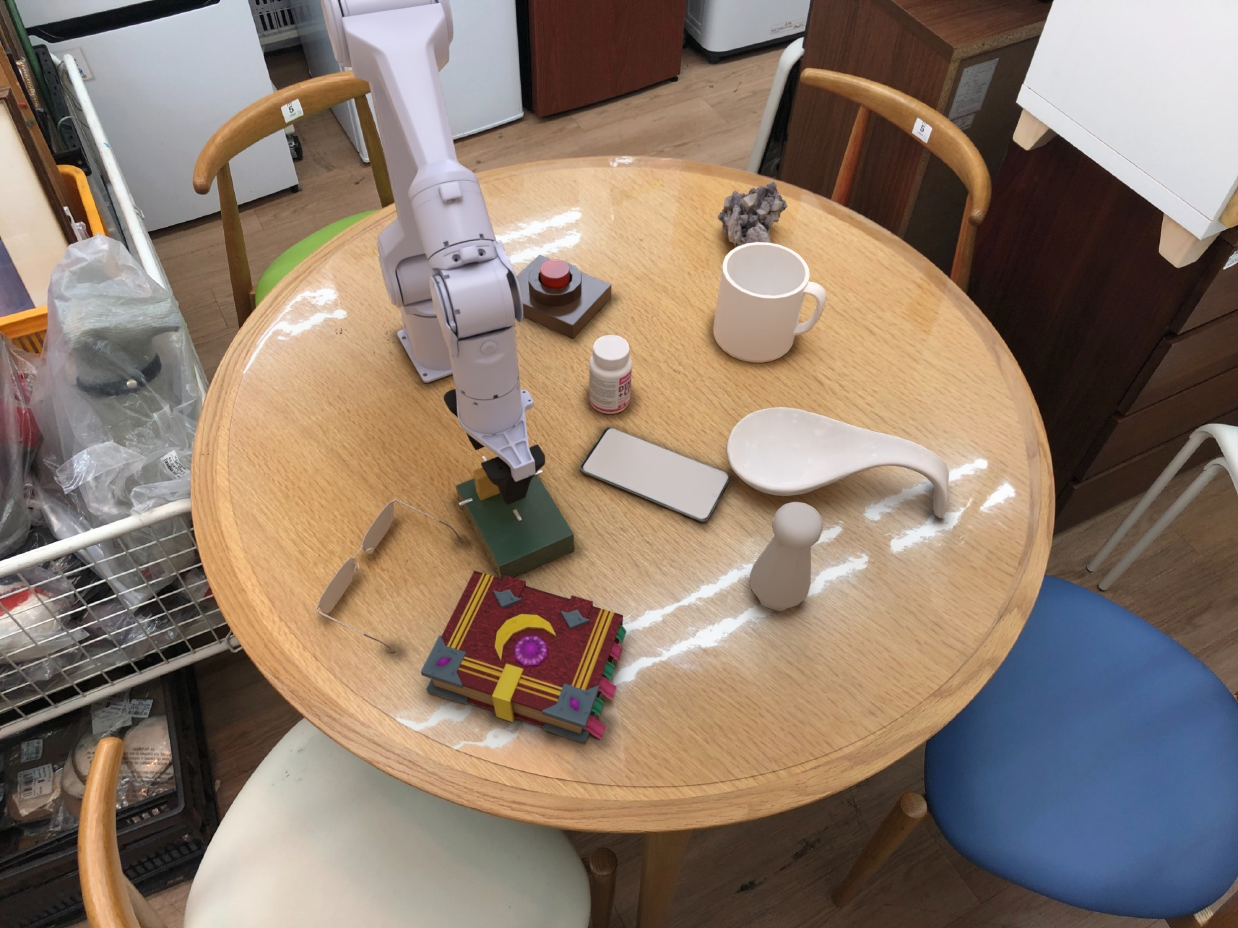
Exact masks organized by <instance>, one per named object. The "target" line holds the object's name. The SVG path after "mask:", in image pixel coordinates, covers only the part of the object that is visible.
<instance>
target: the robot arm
mask: <svg viewBox="0 0 1238 928" xmlns="http://www.w3.org/2000/svg"><path fill="white" fill-rule="evenodd" d="M320 5H321V10H322V15H323V19H324V22H325V26H326V30H327V34H328V38H329V41H330V44H331V48H332V52H333V56H334V59H335V61H336V62H337V63H338V64H339V66H340V67H343V68H351V70H352V75H353V77H354V78H356V79H359V80H362V81H364V82H367V83H368V86H369V91H370V96H371V100H372V106H373V109H374V114H375V119H376V123H377V128H378V133H379V137H380V141H381V147H382V151H383V155H384V160H385V165H386V169H387V173H388V179H389V184H390V187H391V193H392V198H393V201H394V202H393V203H394V206H395V210H396V211H395V212H396V215H397V217H396V218H395V219H394V220H393V221H392V222H391V223H390V224H388V225H387V226H386V227H385V228H384V229H383V230H382V231H381V232H380V233H379V234H378V235H377V242H376V246H377V251H378V262H379V267H380V271H381V275H382V278H383V282H384V285H385V289H386V292H387V296H388V298H389V301H390V304H392V305H393V306H395V307H396V308H397V309H399V311H400V316H401V321H402V325H403V329H400V330H398V331H397V332H396V336H397V337H398V340H399V341H400V343H401V345H402V347H403V348H404V350H405V352H406V353H407V355H408V357H409V359H410V361H411V362H412V364H413V366H414V369H416V371H417V373H418V375H419V377H420V378H421V380H422V382H423V383H426V384H427V383H431V382H434V381H437V380H440V379H443V378H445V377H448V376H451V375H452V378H453V383H454V388H452V389H450V390H448V391H447V392H445V394H444V395H443V401H444V403H445V405H446V407H447V408H448V410H449V412H450V413H451V414H453V416H455V417H456V418H457V419H458V423H459V426H460V428H461V429H462V430H463V432H465V434H466V436H467V438H468V440H469V442H470V444H471V446H472V448H473V449H474V450H475V451H478V450H481V449H483V448H486V449H487V450H488V451H490V452H491V453H493V454H494V455H495V457H492V458H490V459H487V461H485V462H484V461H482V462H481V463H480V466H481V468H483V469H484V471H485V473H486V475H487V476H488V478H489V479H490V481H491V482H492V483H493V484H494V485H497V486H498V489H499V492H500V494H501V496H502V498H503V500H504V501H505V503H506V504H508V505H509V504H511V503H514V502H516V501H518V500H521V499H523V498H525V497H526V494H527V491H528V488H529V485H530V482H531V480H532V478H533V476H534V475H535V474H536V473H537V471H539V470H541V469H542V468H543V467H544V466H545V465H546V455H545V453H544V451H543V449H542V448H541V447H540V445H539V444H534V445H532V446H530V444H529V435H528V427H527V419H526V412H527V411H528V410H530V409H532V408H533V407H534V405H535V402H534V398H533V396H532V395H531V394H530V392H529V390H527V389H524V388H523V389H521V380H520V369H519V357H518V347H517V335H516V324H515V321H517V322H518V323H523V321H524V316H523V304H522V296H521V291H520V286H519V283H518V279H517V276H518V275H517V274H516V271H515V269H514V267H513V264H512V262H511V259H510V257H509V256H508V253H507V252H506V249H505V247H504V244H503V241H502V240H497V238H496V235H495V234H496V233H495V231H494V228H493V225H492V224H493V223H492V221H491V218H490V215H489V211H488V208H487V204H486V201H485V198H484V195H483V192H482V187H481V185H480V182H479V177H478V176H477V174H476V173H475V172H473V171H472V170H470V169H469V168H467V167H466V166H464V165H462V164H461V163H460V162H459V161H458V157H457V152H456V148H455V143H454V138H453V134H452V129H451V125H450V120H449V115H448V110H447V106H446V105H447V104H446V100H445V97H444V91H443V85H442V82H441V77H440V72H441V71H442V70H443V69H444V67H445V66H447V64H448V63H449V61H450V46H451V43H452V42H453V40H454V21H453V15H452V9H451V3H450V0H320Z"/></svg>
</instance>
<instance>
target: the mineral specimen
mask: <svg viewBox="0 0 1238 928" xmlns="http://www.w3.org/2000/svg"><path fill="white" fill-rule="evenodd" d="M777 186H778V184H777V183H776V182H775V181H773V180H771V181H770V182H767V184H766V185H765V186H764V185H758V187H757V188H755V187H751V188H750V189H749V191H748V193H743V192H742V193H739V192H738V191H736V190H733V192H732V193H731V195H728V196H726V197H725V198H724V202H723V209H722V210H721V212H719V214H718V215H717V219H718V220H719V221H720V222H721V223H722V227H721V228H722V231H721V232H722V233H723V234H724V235H725V236H726V237H727V238H728V242H730V243H733V245H734V248H736V247H738V246H741V245H744V244H747V243H754V242H768V243H772V239H771V236H770V233H771V228H772V226H773V225H774V223H779V221H780V218H781V214H782V213H783V212H784V211H785V210H786V209H787V208H788V203H787V201H786V200H785V199H783V196H782V195H781V194H780V191H778V188H777Z"/></svg>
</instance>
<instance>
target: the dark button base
mask: <svg viewBox="0 0 1238 928" xmlns="http://www.w3.org/2000/svg"><path fill="white" fill-rule="evenodd" d="M548 260H552V259H551V258H549V257H548V256H547V257H546V256H545V255H542V254H538V255H537V256H536V257H535V258H534V259H533V260H532V261H531V262H530V263H529V264H528V265H527V266H525V268H524V269H523V270H521V272H519V273H518V274H517V275H516V276H517V279H518V283H519V286H520V291H521V296H522V304H523V318H526V319H528V320H531V321H533V322H535V323H537V324H538V325H539V324H540V325H542V326H544V327H546V328H549V329H550V330H553V331H555V332H558V333H560V334H561V335H564V336H566V337H569V338H571V339H574V338H575V337H576V336H577V335H578V334H579V333H580V332H581V331H582V330H583V329H584V328H585V326H586V325H588V324H589V322H590V321H591V320H592V319H593V318H594V317H595V316H596V315H597V314H598V313H599V311H601V310H602V308H603V307H604V306H605V305H606V304H607V303H608V302H609V301H610V300H611V299H612V284H611V283H609V282H606V281H604V280H602V279H600V278H597V277H595V276H592V275H589V274H588V273H585V272H583V271H580V269H579V268H578V267H577V266H576V265H575V264H573V263H570V262H567V261H564V260H563V261H564V262H566V263H567V264H568V265H569V268H570V281H569V283H568V285H567V286H565V287H562V288H559V289H556V288H548V287H545V286H544V285H543V284H542V283H541V276H540V267H541V265H542V264H543V263H544V262H546V261H548Z"/></svg>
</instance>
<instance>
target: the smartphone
mask: <svg viewBox="0 0 1238 928" xmlns="http://www.w3.org/2000/svg"><path fill="white" fill-rule="evenodd" d="M580 471H581V472H582V473H583V474H586V475H587V476H590V477H593V478H595V479H597V480H600V481H602V482H604V483H606V484H610V485H612V486H613V487H617V488H619V489H621V490H624V491H626V492H628V493H632V494H634V495H637V496H639V497H641V498H643V499H645V500H648V501H651V502H654V503H656V504H658V505H660V506H663V507H666V508H667V509H670V510H673V511H675V512H677V513H679V514H682V515H685V516H687V517H690V518H692V519H695V520H697V521H699V522H707V521H708V520H709V519H710V517H711V515H712V513H713V512H714V510H715V508H716V506H717V504H718V502H719V501H720V499H721V496H722V495H723V493H724V491H725V489H726V487H727V485H728V483H729V481H730V479H731V477H730V474H729V473H728V472H726V471H723V470H721V469H718V468H716V467H713V466H711V465H709V464H707V463H704V462H700V461H698V460H695V459H694V458H690V457H688V456H686V455H683V454H681V453H678V452H675V451H673V450H671V449H667V448H665V447H663V446H660V445H657V444H655V443H653V442H650V441H647V440H645V439H642V438H640V437H638V436H635V435H632V434H630V433H627V432H624V431H622V430H619V429H617V428H615V427H611V426H610V427H606V428H605V429H603V432H602V433H601V434H600V435H599V437H598V439H597V440H596V442H595V443H594V444H593V446H592V448H590V451H589V452H588V453H587V455H586V456H585V458H584V460H583V461H582V463H581V464H580Z"/></svg>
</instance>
